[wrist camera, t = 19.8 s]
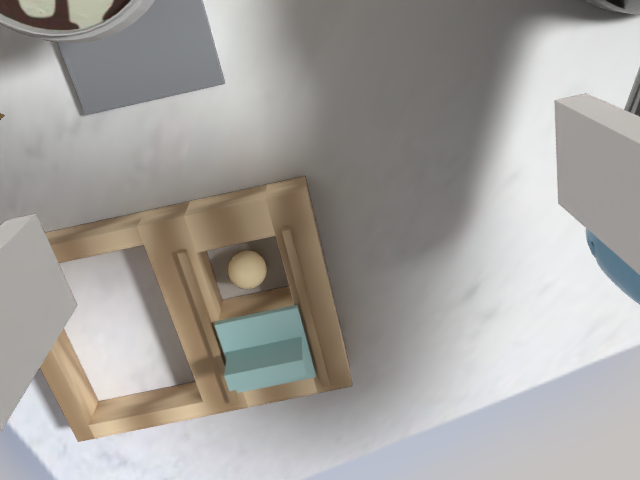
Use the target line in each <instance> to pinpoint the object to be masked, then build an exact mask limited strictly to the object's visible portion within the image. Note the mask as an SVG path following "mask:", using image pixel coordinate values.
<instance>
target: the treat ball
mask: <svg viewBox="0 0 640 480" xmlns="http://www.w3.org/2000/svg"><path fill="white" fill-rule="evenodd" d="M266 272H267V267H266V263H265V261H264V259H263V258H262V257H261V256H260V255H259V254H258V253H256V252H253V251H242V252H239V253H237V254H236V255H235V256H234V257H233V258H232V259H231V261H230V263H229V266H228V274H229V277H230V279H231V281H232V282H233V283H234V284H235V285H236V286H238V287H240V288H243V289H252V288H255V287H257V286H258V285H260V284H261V283H262V282H263V280H264V278H265V276H266Z"/></svg>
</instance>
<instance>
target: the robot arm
mask: <svg viewBox="0 0 640 480" xmlns="http://www.w3.org/2000/svg"><path fill="white" fill-rule="evenodd" d="M585 1H587V2H589V3H590V4H592V5H595V6H597V7H600V8H603V9H606V10H610V11H615V12H622V13H629V14H637V15H640V0H585ZM555 126H556V153H557V181H558V204H560V205H561V206H562V207H563V208H564V209H565V210H566V211H568V212H569V213H570V214H571V215H572V216H573V217H574V218H575V219H577V220H578V221H579V222H580V223H581V224H582V225H583V226H585V227H586V238H587V243H588V245H589V247H590V250H591V252H592V254H593V255H594V257H595V258H596V260H597V263H598V265H599V266H600V268H601V269H602V270H603V272H604V273H605V274H606V275H607V276H608V277H609V278H610V279H611V281H612V282H614V283H615V284H616V285H617V286H618V287H619V288H620V289H621V290H622V291H623V292H624V293H626V294H627V295H628V296H629V297H630V298H632V299H633V300H634V301H636V302H637V303H638V304H640V68H639V70H638V73H637V76H636V79H635V81H634V84H633V87H632V90H631V93H630V95H629V98H628V101H627V104H626V106H625V109H624V110H623V109H621V108H619V107H616V106H614V105H612V104H609V103H607V102H605V101H602V100H600V99H598V98H596V97H593V96H591V95H589V94H586V93H585V94H581V95H576V96H572V97H567V98H562V99H558V100H555ZM76 307H77V303H76V301H75V298H74V296H73V294H72V292H71V290H70V287H69V285H68V283H67V281H66V279H65V276H64V274H63V272H62V270H61V268H60V265H59V263H58V261H57V259H56V257H55V254H54V252H53V250H52V248H51V246H50V243H49V241H48V239H47V237H46V235H45V232H44V230H43V228H42V226H41V224H40V221H39V219H38V217H37V215H36V214H32V215H27V216H23V217H18V218H14V219H9V220H6V221H5V222H4V223H3V224H2V225H1V226H0V433H1V431H2V429H3V428H4V426H5V424H6V423H7V421H8V419H9V418H10V416H11V414H12V413H13V411H14V409H15V408H16V406H17V404H18V403H19V401H20V399H21V398H22V396H23V395H24V393H25V391H26V390H27V388H28V386H29V385H30V383H31V381H32V380H33V378H34V376H35V375H36V373H37V371H38V370H39V368H40V366H41V365H42V363H43V361H44V360H45V358H46V357H47V355H48V353H49V352H50V350H51V348H52V347H53V345H54V343H55V342H56V340H57V338H58V337H59V335H60V333H61V332H62V330H63V328H64V327H65V325H66V323H67V322H68V320H69V318H70V317H71V315H72V314H73V312H74V310H75V309H76Z"/></svg>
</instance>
